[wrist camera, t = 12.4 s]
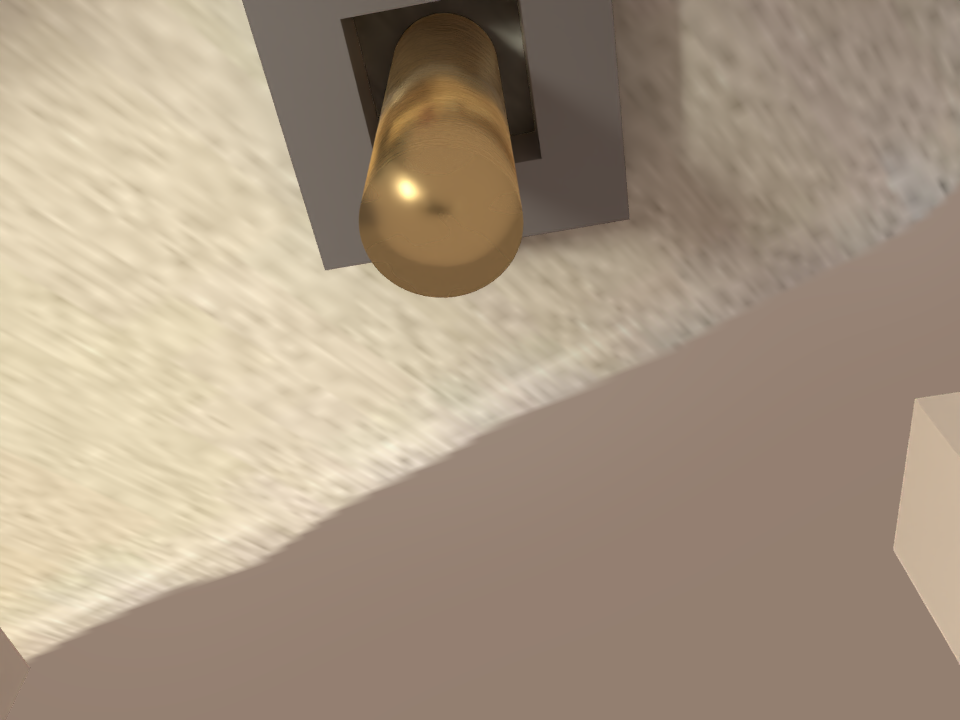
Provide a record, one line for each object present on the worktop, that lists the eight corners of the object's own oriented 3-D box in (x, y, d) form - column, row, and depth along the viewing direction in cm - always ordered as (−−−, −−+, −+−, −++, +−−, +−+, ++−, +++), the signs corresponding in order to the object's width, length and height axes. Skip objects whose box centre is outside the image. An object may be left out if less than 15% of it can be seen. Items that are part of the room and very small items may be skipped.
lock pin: (405, 128, 34) (380, 308, 22) (381, 24, 31) (339, 162, 20) (505, 110, 33) (533, 283, 22) (488, 3, 31) (510, 131, 20)
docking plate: (334, 236, 36) (325, 270, 34) (242, -75, 30) (222, -62, 27) (616, 188, 35) (629, 219, 33) (588, -144, 29) (600, -137, 26)
